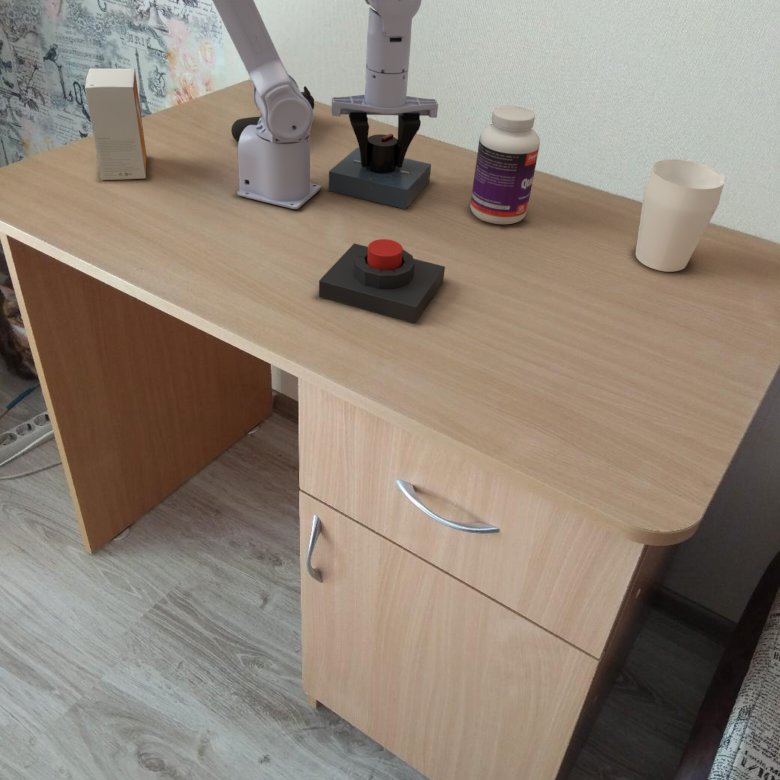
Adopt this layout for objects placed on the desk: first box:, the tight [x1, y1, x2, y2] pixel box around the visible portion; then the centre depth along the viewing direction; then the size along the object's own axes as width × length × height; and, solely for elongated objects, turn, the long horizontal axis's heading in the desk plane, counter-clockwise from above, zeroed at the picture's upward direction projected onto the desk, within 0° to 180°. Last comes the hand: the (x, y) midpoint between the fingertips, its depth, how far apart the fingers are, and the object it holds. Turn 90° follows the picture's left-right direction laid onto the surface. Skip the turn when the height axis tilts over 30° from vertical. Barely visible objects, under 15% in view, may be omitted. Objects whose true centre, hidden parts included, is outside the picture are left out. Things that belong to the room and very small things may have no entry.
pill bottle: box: [469, 105, 541, 225], centre depth 105 cm, size 8×8×14 cm
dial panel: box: [328, 147, 432, 210], centre depth 113 cm, size 12×10×3 cm
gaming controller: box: [230, 85, 315, 143], centre depth 126 cm, size 17×6×10 cm
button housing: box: [318, 242, 446, 324], centre depth 91 cm, size 12×10×4 cm
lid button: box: [367, 238, 404, 270], centre depth 90 cm, size 4×4×2 cm
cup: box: [635, 158, 726, 273], centre depth 99 cm, size 9×9×12 cm
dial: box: [366, 133, 398, 173], centre depth 111 cm, size 4×4×4 cm
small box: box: [84, 67, 147, 181], centre depth 109 cm, size 8×6×13 cm
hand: (381, 164), depth 112 cm, fingers closed on dial, 4 cm apart
